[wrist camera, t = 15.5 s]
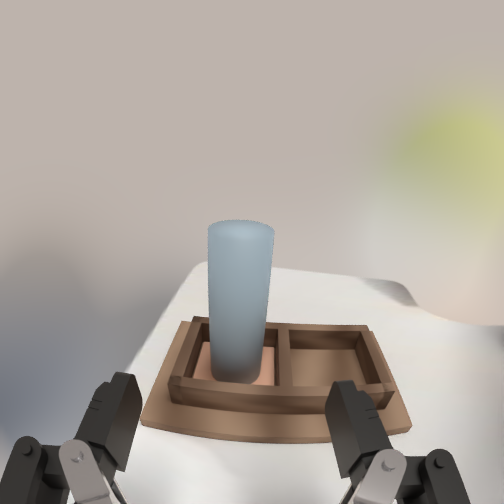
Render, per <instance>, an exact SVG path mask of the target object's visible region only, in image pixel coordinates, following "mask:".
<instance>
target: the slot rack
mask: <svg viewBox="0 0 504 504" xmlns="http://www.w3.org/2000/svg"><path fill="white" fill-rule="evenodd" d="M342 380H353V381H354V383H355V386H356V388H357V391H361V390H364V391H365V392H366V393H367V394H368V395H369V396H370V397H371V398H372V400H373V402H374V404H375V407H376V410H377V411H378V414H379V418H380V419H381V421H382V423H383V426H384V428H385V431H386V433H387V436H388V435H394V434H399V433H404V432H408V431H409V429H410V428H411V427H412V426H413V425H412V423H411V420H410V418H409V415H408V412H407V410H406V407H405V405H404V402H403V400H402V397H401V395H400V392H399V390H398V388H397V385H396V383H395V381H394V378H393V376H392V374H391V371H390V369H389V367H388V364H387V362H386V360H385V358H384V355H383V353H382V351H381V349H380V347H379V344H378V342H377V340H376V338H375V336H374V334H373V332H372V331H369V329H368V327H367V325H316V324H290V323H271V322H266V324H265V334H264V343H263V352H262V361H261V370H260V375H259V377H258V378H257V380H256V381H255V382H253V383H252V384H241V383H229V382H220V381H217V380H216V379H215V378H214V377H213V375H212V372H211V355H210V331H209V318H208V317H198V316H194V317H193V319H192V322H187V321H181V324H180V326H179V328H178V330H177V333H176V335H175V337H174V339H173V341H172V344H171V346H170V348H169V350H168V353H167V355H166V357H165V360H164V362H163V364H162V366H161V369H160V371H159V373H158V376H157V378H156V380H155V383H154V385H153V387H152V390H151V392H150V395H149V397H148V399H147V402H146V404H145V407H144V409H143V411H142V414H141V416H140V421H141V423H142V425H144V426H148V427H152V428H156V429H161V430H166V431H170V432H176V433H181V434H187V435H192V436H199V437H206V438H213V439H221V440H231V441H242V442H256V443H326V442H332V440H331V436H330V432H329V428H328V425H327V421H326V417H325V403H326V400H327V398H328V395H329V392H330V389H331V387H332V384H333V382H334V381H342Z"/></svg>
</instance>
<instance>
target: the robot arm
mask: <svg viewBox="0 0 504 504" xmlns="http://www.w3.org/2000/svg"><path fill="white" fill-rule="evenodd" d="M88 407H89V408H88V409H87V411H86V413H85V415H84V418H83V420H82V422H81V424H80V427H79V429H78V432H77V434H76V436H75V438H74V439H73V440H69V441H67V442H65V443H64V444H63V445H62V446H52V445H41V444H40V443H39V442H38V441H37V440H36V439H35V438H33V437H30V436H24V437H21V438H20V439H18V440H17V441H16V443H15V445H14V447H13V450H12V452H11V455H10V458H9V460H8V462H7V465H6V468H5V471H4V473H3V477H2V479H1V482H0V504H67V499H68V495H69V491H70V490H71V492H72V495H73V497H74V500H75V503H74V504H129V503H128V501H127V500H126V498H125V496H124V494H123V493H122V491H121V489H120V487H119V485H118V483H117V481H116V480H115V478H114V476H115V472H116V470H119V471H123V472H125V468H126V465H127V461H128V457H129V453H130V449H131V446H132V442H133V438H134V435H135V431H136V428H137V424H138V421H139V418H140V414H141V411H142V396H141V393H140V390H139V387H138V384H137V381H136V378H135V375H134V374H128V373H122V372H116V373H115V374H114V376H113V378H112V380H111V382H110V383H108V382H104V383H103V384H101V385H100V386H99V387H98V388H97V389H96V391H95V393H94V395H93V398H92V401H91V402H90V404H89V406H88ZM325 417H326V421H327V425H328V428H329V432H330V436H331V440H332V444H333V448H334V452H335V456H336V460H337V464H338V468H339V472H340V476H341V479H342V478H347V477H350V479H351V484H350V485H349V487H348V489H347V491H346V493H345V494H344V496H343V498H342V499H341V501H340V503H339V504H392V503H393V501H394V499H396V500H397V504H470V501H469V498H468V495H467V492H466V489H465V487H464V484H463V481H462V479H461V476H460V473H459V471H458V468H457V466H456V463H455V461H454V459H453V456H452V455H451V454H450V453H449V452H448V451H446V450H444V449H436V450H433V451H431V452H430V453H429V454H428V455H427V456H404V455H403V454H402V453H401V452H399V451H397V450H394V449H393V447H392V445H391V443H390V441H389V438H388V436H387V433H386V431H385V428H384V426H383V423H382V421H381V419H380V418H379V414H378V411H377V410H376V407H375V404H374V402H373V400H372V398H371V397H370V396H369V395H368V394H367V393H366V392H365V391H364V390H361V391H357V388H356V386H355V383H354V381H353V380H342V381H334V382H333V384H332V387H331V389H330V392H329V395H328V398H327V400H326V403H325Z"/></svg>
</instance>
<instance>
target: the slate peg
mask: <svg viewBox="0 0 504 504" xmlns="http://www.w3.org/2000/svg"><path fill="white" fill-rule="evenodd" d="M273 241H274V229H273V228H271V227H270V226H268V225H266V224H263V223H260V222H255V221H249V220H227V221H220V222H217V223H214V224H212V225H211V226H209V228H208V297H209V331H210V355H211V372H212V375H213V377H214V378H215V379H216V380H217V381H220V382H229V383H241V384H252V383H253V382H255V381H256V380H257V378H258V377H259V375H260V370H261V361H262V352H263V343H264V334H265V324H266V315H267V305H268V295H269V285H270V275H271V263H272V252H273Z"/></svg>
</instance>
